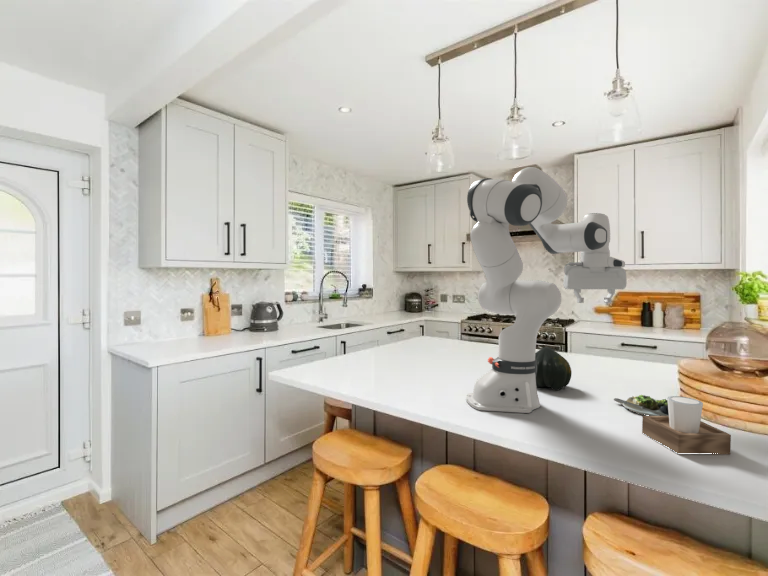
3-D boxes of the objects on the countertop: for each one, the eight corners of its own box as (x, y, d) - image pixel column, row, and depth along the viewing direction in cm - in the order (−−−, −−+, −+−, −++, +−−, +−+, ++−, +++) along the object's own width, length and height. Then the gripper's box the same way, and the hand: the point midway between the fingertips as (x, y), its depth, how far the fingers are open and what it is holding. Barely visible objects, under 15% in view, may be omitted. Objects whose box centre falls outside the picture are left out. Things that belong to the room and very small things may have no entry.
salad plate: (606, 410, 118) (607, 395, 118) (621, 397, 131) (621, 383, 131) (687, 428, 105) (687, 411, 105) (694, 411, 118) (695, 396, 118)
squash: (554, 380, 130) (567, 343, 136) (514, 373, 142) (528, 339, 148) (569, 402, 137) (581, 366, 143) (530, 394, 148) (543, 360, 155)
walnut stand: (678, 454, 88) (678, 435, 88) (642, 433, 100) (642, 415, 100) (730, 454, 89) (730, 434, 89) (688, 432, 101) (688, 415, 101)
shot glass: (686, 435, 90) (687, 405, 90) (659, 424, 97) (660, 396, 97) (709, 433, 92) (710, 403, 92) (681, 422, 99) (682, 394, 98)
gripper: (569, 261, 130) (568, 303, 130) (630, 262, 130) (629, 303, 130) (560, 262, 136) (559, 302, 136) (618, 262, 136) (617, 302, 137)
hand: (594, 302), depth 133 cm, fingers open, 8 cm apart
